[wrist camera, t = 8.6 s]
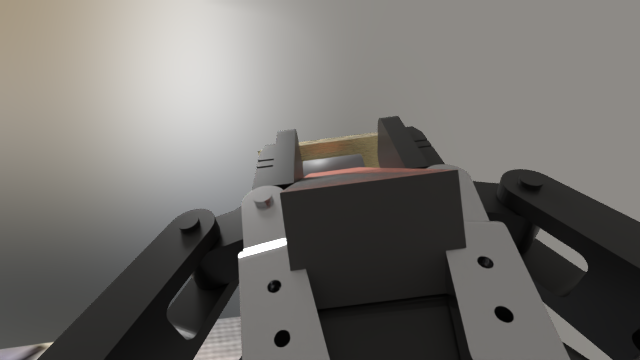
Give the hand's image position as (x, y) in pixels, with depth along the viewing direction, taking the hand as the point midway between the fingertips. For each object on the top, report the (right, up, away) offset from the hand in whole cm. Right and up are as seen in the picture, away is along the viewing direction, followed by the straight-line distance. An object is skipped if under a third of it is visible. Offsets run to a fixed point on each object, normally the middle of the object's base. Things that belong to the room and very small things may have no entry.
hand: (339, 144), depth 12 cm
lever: (0, -4, +2) cm, 5 cm away
